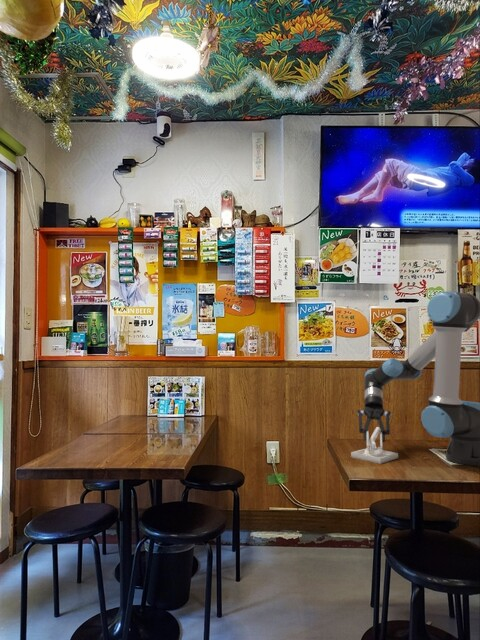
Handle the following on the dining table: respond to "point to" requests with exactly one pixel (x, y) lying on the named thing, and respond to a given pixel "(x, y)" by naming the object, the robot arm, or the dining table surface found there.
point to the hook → (373, 444)
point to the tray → (375, 456)
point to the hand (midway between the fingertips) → (374, 447)
